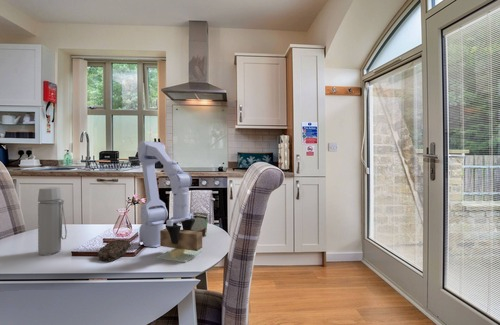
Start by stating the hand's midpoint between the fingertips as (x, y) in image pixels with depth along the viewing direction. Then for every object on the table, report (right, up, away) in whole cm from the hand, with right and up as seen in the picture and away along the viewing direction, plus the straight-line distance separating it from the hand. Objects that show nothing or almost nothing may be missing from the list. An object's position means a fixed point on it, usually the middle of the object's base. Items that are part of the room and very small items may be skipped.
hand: (180, 240), depth 100 cm
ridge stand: (0, -5, 0) cm, 5 cm away
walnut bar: (0, -2, 0) cm, 2 cm away
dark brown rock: (-25, -6, -1) cm, 26 cm away
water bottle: (-50, -5, +2) cm, 51 cm away
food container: (+2, -5, +28) cm, 29 cm away
